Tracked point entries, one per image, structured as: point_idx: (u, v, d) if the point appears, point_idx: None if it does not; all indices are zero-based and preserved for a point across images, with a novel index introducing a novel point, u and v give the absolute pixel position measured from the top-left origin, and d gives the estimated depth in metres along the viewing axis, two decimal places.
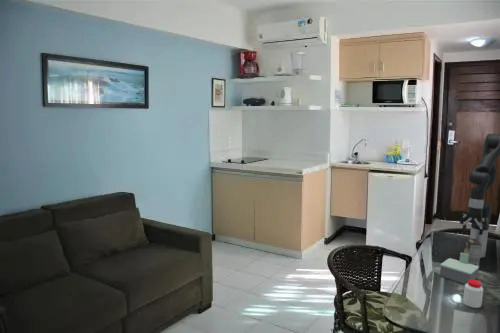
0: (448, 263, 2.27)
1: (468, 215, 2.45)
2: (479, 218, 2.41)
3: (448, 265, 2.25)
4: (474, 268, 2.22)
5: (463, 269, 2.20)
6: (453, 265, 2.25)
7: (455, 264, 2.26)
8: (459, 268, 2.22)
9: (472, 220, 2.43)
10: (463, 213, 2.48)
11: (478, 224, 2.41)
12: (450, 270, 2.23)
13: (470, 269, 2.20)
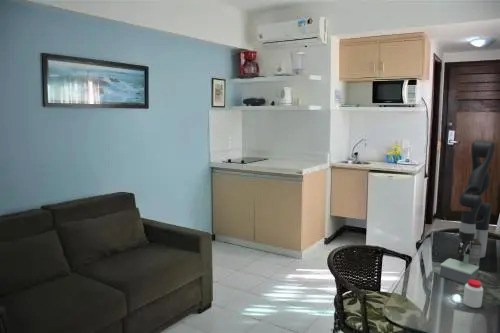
0: (448, 263, 2.27)
1: (466, 243, 2.24)
2: (470, 241, 2.28)
3: (448, 265, 2.25)
4: (474, 268, 2.22)
5: (463, 269, 2.20)
6: (453, 265, 2.25)
7: (455, 264, 2.26)
8: (459, 268, 2.22)
9: None
10: (461, 243, 2.23)
11: (470, 247, 2.28)
12: (450, 270, 2.23)
13: (470, 269, 2.20)
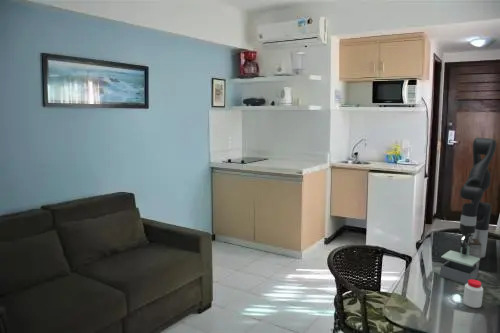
0: (449, 255, 2.27)
1: (466, 235, 2.23)
2: (471, 233, 2.28)
3: (449, 257, 2.24)
4: (475, 260, 2.21)
5: (464, 261, 2.19)
6: (454, 257, 2.24)
7: (456, 256, 2.25)
8: (460, 259, 2.21)
9: None
10: (461, 239, 2.23)
11: (470, 241, 2.27)
12: (450, 270, 2.23)
13: (471, 261, 2.20)
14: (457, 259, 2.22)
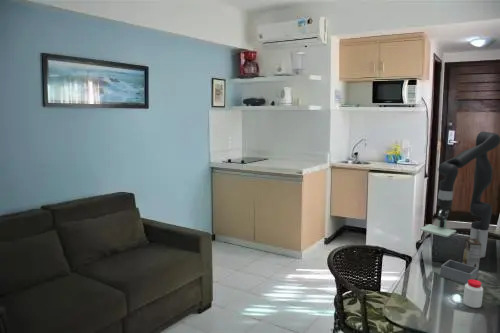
0: (427, 228, 2.43)
1: (443, 209, 2.39)
2: None
3: (427, 229, 2.40)
4: (451, 232, 2.37)
5: (441, 232, 2.36)
6: (432, 229, 2.41)
7: (434, 229, 2.42)
8: (437, 231, 2.37)
9: None
10: None
11: (447, 215, 2.43)
12: (450, 270, 2.23)
13: (447, 232, 2.36)
14: (434, 231, 2.38)
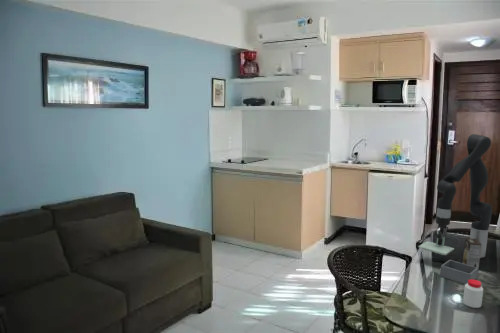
0: (426, 245, 2.45)
1: (442, 227, 2.41)
2: (446, 225, 2.46)
3: (426, 247, 2.42)
4: (449, 249, 2.39)
5: (439, 250, 2.38)
6: (430, 247, 2.42)
7: (432, 246, 2.43)
8: (435, 249, 2.39)
9: None
10: (437, 230, 2.41)
11: (445, 233, 2.45)
12: (450, 270, 2.23)
13: (445, 250, 2.38)
14: (433, 249, 2.40)
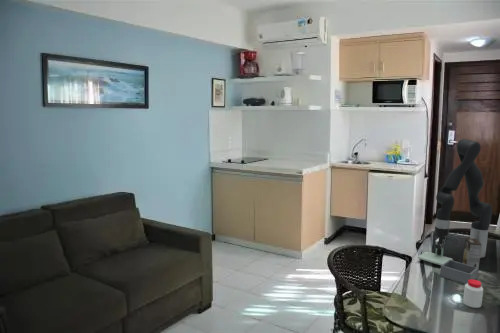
0: (425, 256, 2.46)
1: (440, 237, 2.43)
2: None
3: (425, 257, 2.44)
4: None
5: (438, 261, 2.39)
6: (429, 257, 2.44)
7: (431, 257, 2.45)
8: (434, 260, 2.40)
9: None
10: (435, 241, 2.42)
11: (444, 243, 2.46)
12: (450, 270, 2.23)
13: (444, 261, 2.39)
14: (431, 259, 2.41)
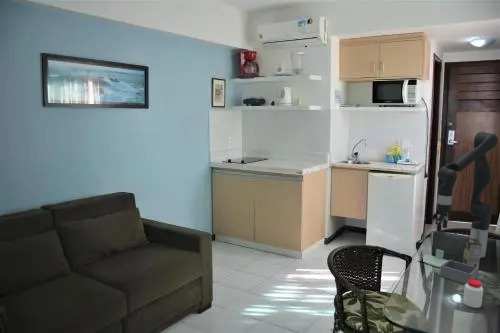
0: (425, 259, 2.47)
1: (443, 214, 2.40)
2: (447, 212, 2.44)
3: (425, 260, 2.44)
4: None
5: (438, 264, 2.40)
6: (429, 260, 2.45)
7: (431, 260, 2.46)
8: (434, 263, 2.41)
9: None
10: (438, 214, 2.39)
11: (447, 218, 2.45)
12: (450, 270, 2.23)
13: None
14: (432, 262, 2.42)
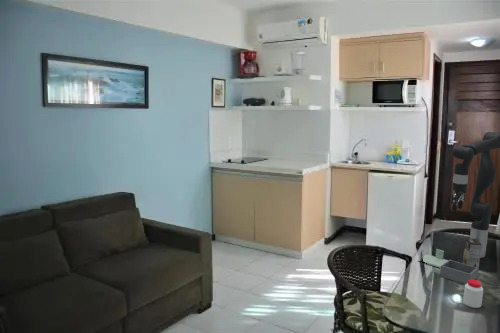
0: (425, 259, 2.47)
1: (459, 193, 2.35)
2: (462, 192, 2.39)
3: (425, 260, 2.44)
4: None
5: (438, 264, 2.40)
6: (429, 260, 2.45)
7: (431, 260, 2.46)
8: (434, 263, 2.41)
9: None
10: (454, 193, 2.33)
11: (463, 198, 2.39)
12: (450, 270, 2.23)
13: None
14: (432, 262, 2.42)
